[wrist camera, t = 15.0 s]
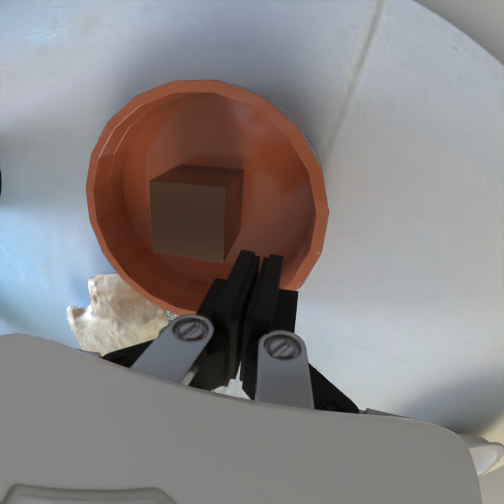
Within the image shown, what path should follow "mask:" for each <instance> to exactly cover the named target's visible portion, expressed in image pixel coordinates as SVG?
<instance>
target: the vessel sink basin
mask: <svg viewBox="0 0 504 504" xmlns="http://www.w3.org/2000/svg"><path fill="white" fill-rule="evenodd" d="M457 435H458V436H460V437H461V438H462V440H463V441H464V442H465V444H466V445H467V447H468V449H469V451H470V453H471V456H472V459H473V462H474V465H475V468H476V472H477V476H478V477H479V476H481V475H482V474H484V473H485V472H487V471H488V470H489V469H490V468H492V467H493V466H494V465H495V464H496V463H497V462H498V461H499V460H500V458H501V457H502V456H503V454H504V446H503V445H502V444H501V443H497V442H489V441H487V440H486V439H484V438H482V437H479V436H476V435H472V434H457Z"/></svg>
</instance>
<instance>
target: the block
mask: <svg viewBox="0 0 504 504" xmlns="http://www.w3.org/2000/svg"><path fill="white" fill-rule="evenodd" d="M243 177H244V170H242V169H231V168H220V167H208V166H195V165H178V166H176V167H174V168H172V169H170V170H168V171H167V172H165V173H163V174H161V175H159V176H157V177H155V178H153V179H151V180H150V181H149V194H150V213H151V229H152V242H153V252H157V253H163V254H169V255H175V256H181V257H187V258H193V259H200V260H206V261H212V262H219V263H224V261H225V259H226V257H227V255H228V254H229V252H230V250H231V248H232V246H233V244H234V242H235V240H236V239H237V237H238V235H239V233H240V224H241V208H242V192H243Z"/></svg>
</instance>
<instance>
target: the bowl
mask: <svg viewBox="0 0 504 504" xmlns="http://www.w3.org/2000/svg"><path fill="white" fill-rule="evenodd" d="M178 165H195V166H208V167H220V168H231V169H242V170H244V177H243V192H242V208H241V224H240V233H239V235H238V237H237V239H236V240H235V242H234V244H233V246H232V248H231V250H230V252H229V254H228V255H227V257H226V259H225V261H224V263H219V262H212V261H206V260H200V259H193V258H187V257H181V256H175V255H169V254H163V253H157V252H153V242H152V229H151V213H150V194H149V181H150V180H151V179H153V178H155V177H157V176H159V175H161V174H163V173H165V172H167V171H168V170H170V169H172V168H174V167H176V166H178ZM86 195H87V204H88V212H89V219H90V222H91V225H92V228H93V230H94V233H95V235H96V238H97V240H98V243H99V245H100V247H101V250H102V252H103V254H104V255H105V257H106V258H107V259H108V261H109V262H110V263H111V265H112V266H113V268H114V269H115V270H116V272H117V273H118V274H119V276H120V277H121V278H122V279H123V280H124V281H125V282H126V283H127V284H128V285H130V286H131V287H132V288H133V289H134V290H135V291H137V292H138V293H139V294H140V295H141V296H143V297H144V298H145V299H146V300H148V301H150V302H152V303H154V304H156V305H158V306H160V307H162V308H164V309H166V310H168V311H170V312H172V313H174V314H176V315H177V314H178V315H180V316H181V315H185V314H196V313H197V311H198V309H199V307H200V305H201V303H202V301H203V300H204V298H205V296H206V294H207V292H208V290H209V289H210V287H211V285H212V283H213V281H214V280H215V278H220V279H225V280H227V278H228V276H229V274H230V272H231V270H232V268H233V266H234V264H235V262H236V260H237V258H238V255H239V253H240V251H241V250H247V251H253V252H255V256H260V265H259V271H260V268H261V265H262V262H263V259H264V257H268V258H269V256H270V254H273V255H279V256H284V260H283V267H282V273H281V280H280V287H279V288H280V289H286V290H293V291H296V290H297V289H298V288H300V287H301V286H302V285H303V283H304V282H305V280H306V278H307V277H308V275H309V273H310V272H311V270H312V268H313V267H314V265H315V263H316V262H317V260H318V258H319V257H320V255H321V253H322V249H323V243H324V238H325V233H326V227H327V222H328V216H329V209H328V203H327V197H326V191H325V185H324V180H323V174H322V169H321V164H320V160H319V157H318V155H317V153H316V151H315V150H314V148H313V146H312V144H311V142H310V140H309V138H308V136H307V135H306V134H305V132H304V131H303V129H302V127H301V126H300V124H299V123H298V122H297V121H296V120H295V119H293V118H292V117H291V116H290V115H289V114H288V113H287V112H286V111H285V110H284V109H282V108H281V107H280V106H278V105H277V104H276V103H275V102H273V101H272V100H271V99H269V98H268V97H265V96H263V95H260V94H257V93H255V92H252V91H249V90H247V89H244V88H241V87H238V86H236V85H233V84H229V83H226V82H222V81H218V80H182V81H171V82H169V83H166V84H164V85H161V86H159V87H156V88H154V89H151V90H149V91H147V92H144V93H142V94H140V95H137V96H136V97H134V98H133V99H132V100H131V101H130V102H129V103H128V104H126V105H125V106H124V107H123V108H122V109H121V110H120V111H119V112H118V113H117V114H116V115H115V116H114V117H113V118H112V119H111V120H110V121H109V122H108V123H107V125H106V127H105V129H104V130H103V132H102V134H101V136H100V138H99V140H98V142H97V144H96V146H95V148H94V150H93V152H92V155H91V160H90V165H89V171H88V177H87V183H86ZM258 275H259V274H258Z"/></svg>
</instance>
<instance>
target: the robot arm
mask: <svg viewBox="0 0 504 504" xmlns="http://www.w3.org/2000/svg"><path fill="white" fill-rule="evenodd" d="M283 260H284V256H279V255H273V254H270V256H269V258H268V257H264V259H263V262H262V265H261V268H260V271H259V265H260V256H255V252H253V251H247V250H241V251H240V253H239V255H238V258H237V260H236V262H235V264H234V266H233V268H232V270H231V272H230V274H229V276H228V278H227V280H225V279H220V278H215V280H214V281H213V283H212V285H211V287H210V289H209V290H208V292H207V294H206V296H205V298H204V300H203V301H202V303H201V305H200V307H199V309H198V311H197V313H196V314H185V315H181V316H178V317H176V318H175V319H173V320H172V321H171V322H170V323H169V324H168V325H167V326H166V328H165V329H164V330H163V331H162V332H161V333H160V334H159V335H158V337H157V338H156V339H153V340H150V341H146V342H143V343H140V344H136V345H133V346H130V347H126V348H123V349H119V350H116V351H112V352H110V353H107V354H105V355H104V356H101V354H100V353H99V352H92V351H86V350H80V349H74V348H72V347H69V346H67V345H64V344H61V343H59V342H56V341H53V340H50V339H47V338H43V337H40V336H36V335H30V334H19V333H14V334H5V335H2V336H0V504H482V499H481V493H480V487H479V481H478V476H477V472H476V468H475V465H474V462H473V459H472V456H471V453H470V451H469V449H468V447H467V445H466V444H465V442H464V441H463V440H462V438H461V437H460V436H458V435H457V434H456V433H454V432H453V431H451V430H449V429H447V428H445V427H442V426H439V425H436V424H433V423H430V422H426V421H422V420H417V419H412V418H407V417H402V416H398V415H393V414H389V413H385V412H381V411H377V410H373V409H369V408H367V409H366V410H365V411H363V410H359V409H358V407H357V406H356V405H355V404H354V403H353V401H351V400H350V399H349V398H348V397H347V396H346V395H344V394H343V393H342V392H341V391H340V390H339V389H338V388H336V387H335V386H334V385H333V384H332V383H331V382H330V381H328V380H327V379H326V378H325V377H324V376H323V375H322V374H321V373H319V372H318V371H317V370H316V369H315V368H314V367H313V366H312V365H311V364H309V363H308V357H307V350H306V346H305V343H304V341H303V340H302V339H301V338H300V337H299V336H298V335H296V334H294V330H295V320H296V311H297V300H298V291H293V290H286V289H280V288H279V287H280V280H281V273H282V267H283ZM258 274H259V275H258ZM240 362H241V368H240V381H243V385H242V389H243V390H244V392H245V393H246V394H247V395H248V396H249V398H250V399H251V400H249V399H244V398H239V397H234V396H229V395H225V394H220V393H216V392H214V389H215V388H218V387H220V386H226V387H227V386H228V383H229V380H230V379H234V380H235V379H236V376H237V372H238V369H239V366H240Z"/></svg>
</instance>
